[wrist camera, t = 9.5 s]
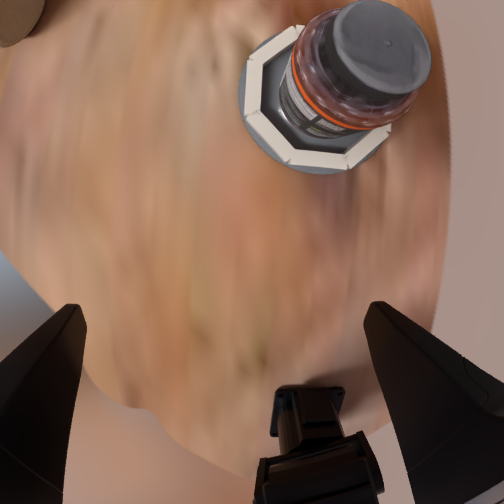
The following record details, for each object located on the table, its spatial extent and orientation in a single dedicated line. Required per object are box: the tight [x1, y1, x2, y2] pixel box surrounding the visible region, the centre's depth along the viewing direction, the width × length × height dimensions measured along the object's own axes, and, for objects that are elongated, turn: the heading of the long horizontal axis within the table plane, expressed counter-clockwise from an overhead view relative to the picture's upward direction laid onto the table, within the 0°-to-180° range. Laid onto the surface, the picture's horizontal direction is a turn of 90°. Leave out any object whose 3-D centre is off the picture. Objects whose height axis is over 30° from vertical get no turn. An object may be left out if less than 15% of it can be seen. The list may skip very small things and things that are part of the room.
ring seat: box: [238, 25, 391, 174], centre depth 19 cm, size 11×11×2 cm
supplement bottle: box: [279, 0, 432, 139], centre depth 14 cm, size 6×6×11 cm
